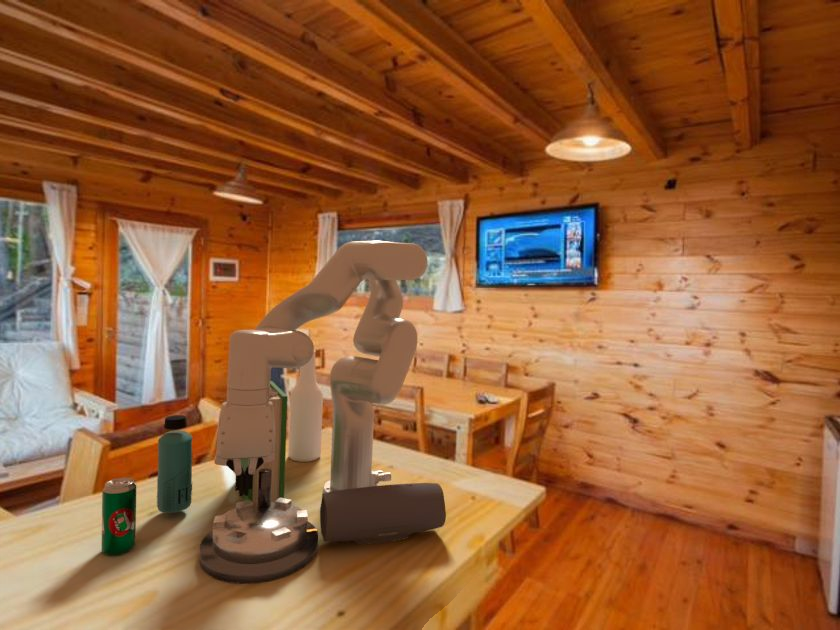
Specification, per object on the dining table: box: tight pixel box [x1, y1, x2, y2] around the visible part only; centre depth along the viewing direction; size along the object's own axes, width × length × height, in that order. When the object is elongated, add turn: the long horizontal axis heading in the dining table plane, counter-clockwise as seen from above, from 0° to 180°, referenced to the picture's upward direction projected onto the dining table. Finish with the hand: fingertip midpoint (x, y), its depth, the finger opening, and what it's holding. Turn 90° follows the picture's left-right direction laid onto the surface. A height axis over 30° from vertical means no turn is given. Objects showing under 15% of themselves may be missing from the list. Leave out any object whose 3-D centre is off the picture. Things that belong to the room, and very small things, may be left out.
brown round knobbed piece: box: [212, 468, 309, 563], centre depth 87 cm, size 16×16×10 cm
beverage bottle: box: [156, 414, 193, 514], centre depth 99 cm, size 6×7×20 cm
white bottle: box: [287, 349, 324, 463], centre depth 135 cm, size 9×9×30 cm
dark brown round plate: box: [198, 521, 319, 585], centre depth 87 cm, size 20×20×2 cm
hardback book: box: [240, 380, 288, 504], centre depth 110 cm, size 18×7×24 cm, turn 27°
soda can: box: [100, 477, 137, 557], centre depth 85 cm, size 5×5×12 cm
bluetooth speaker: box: [319, 482, 447, 545], centre depth 93 cm, size 23×9×10 cm, turn 109°
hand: (243, 493), depth 92 cm, fingers closed
